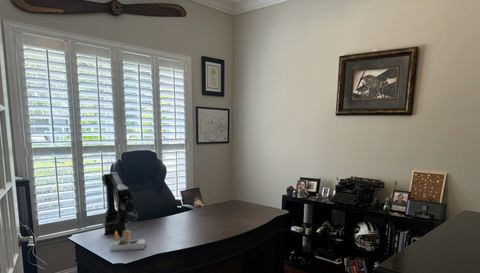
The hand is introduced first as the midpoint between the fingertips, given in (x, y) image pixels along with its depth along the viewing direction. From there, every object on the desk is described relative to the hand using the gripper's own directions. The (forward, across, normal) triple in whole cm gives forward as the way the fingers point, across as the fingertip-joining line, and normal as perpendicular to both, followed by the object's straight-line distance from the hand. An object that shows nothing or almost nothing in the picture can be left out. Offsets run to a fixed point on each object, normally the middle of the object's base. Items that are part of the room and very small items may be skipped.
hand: (122, 234), depth 169 cm
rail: (+4, -10, -5) cm, 12 cm away
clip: (+4, 0, 0) cm, 5 cm away
